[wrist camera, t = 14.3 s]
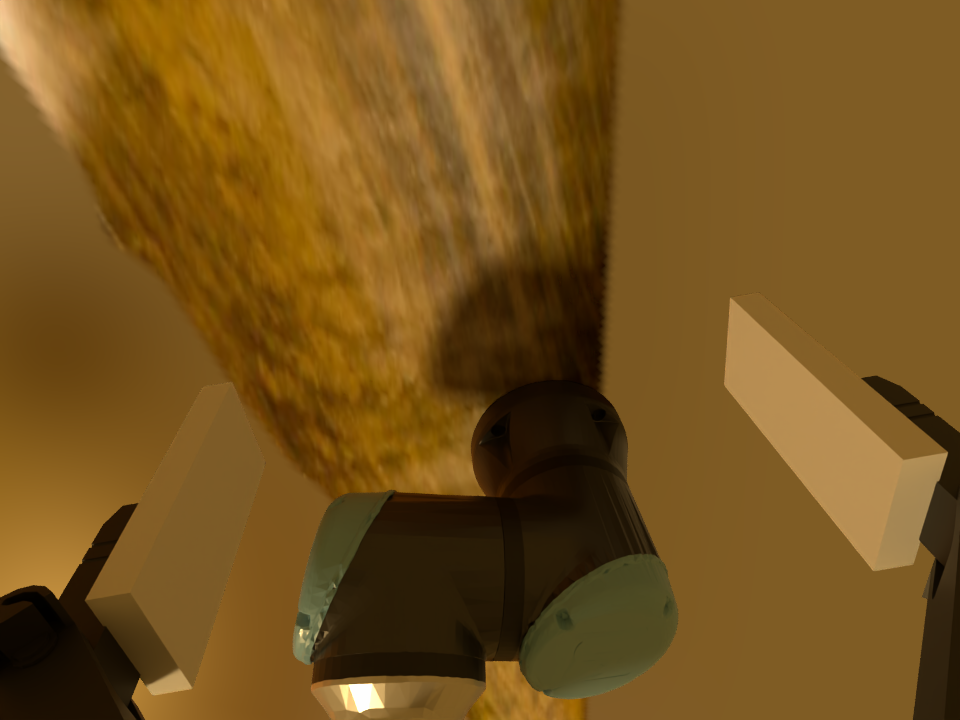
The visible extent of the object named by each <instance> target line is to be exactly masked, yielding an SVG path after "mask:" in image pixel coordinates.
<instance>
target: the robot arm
mask: <svg viewBox="0 0 960 720" xmlns="http://www.w3.org/2000/svg"><path fill="white" fill-rule="evenodd" d="M724 385H725V387H726V388H727V389H728V391H729V392H730V393H731V394H732V396H733V397H734V398H735V399H736V400H737V402H738V403H739V404H740V405H741V407H742V408H743V409H744V410H745V412H746V413H747V414H748V415H749V417H750V418H751V419H752V420H753V422H754V423H755V424H756V425H757V427H758V428H759V429H760V430H761V432H762V433H763V434H764V435H765V437H766V438H767V439H768V440H769V441H770V443H771V444H772V445H773V446H774V448H775V449H776V450H777V451H778V453H779V454H780V455H781V457H782V458H783V459H784V460H785V462H786V463H787V464H788V465H789V466H790V468H792V470H793V471H794V473H795V474H796V475H797V476H798V478H799V479H800V480H801V481H802V482H803V484H804V485H805V486H806V488H807V489H808V490H809V491H810V493H811V494H812V495H813V496H814V498H815V499H816V500H817V501H818V502H819V504H820V505H821V506H822V508H823V509H824V510H825V511H826V513H827V514H828V515H829V516H830V517H831V519H832V520H833V521H834V523H835V524H836V525H837V526H838V527H839V529H840V530H841V531H842V532H843V534H844V535H845V536H846V537H847V539H848V540H849V541H850V542H851V544H852V545H853V546H854V547H855V549H856V550H857V551H858V552H859V554H860V555H861V556H862V557H863V559H864V560H865V561H866V562H867V563H868V565H869V566H870V567H871V569H872V570H873V571H878V570H883V569H889V568H895V567H901V566H907V565H912V564H913V563H914V560H915V557H916V553H917V550H918V547H919V544H920V542H921V543H922V544H923V545H924V546H925V547H926V548H927V549H928V550H929V551H930V552H931V553H932V554H933V555H934V557H935V561H934V563H933V566H932V569H931V572H930V575H929V578H928V581H927V584H926V587H925V590H924V593H923V596H922V597H923V598H926V599H928V601H927V609H926V617H925V625H924V634H923V642H922V650H921V658H920V667H919V674H918V682H917V691H916V699H915V707H914V715H913V720H960V433H959V432H958V431H957V430H955V429H954V428H953V427H952V426H950V425H949V424H948V423H947V422H945V421H944V420H943V419H942V418H940V417H939V416H935V415H934V412H933V411H932V410H930V409H929V408H928V407H927V406H925V405H924V404H920V402H919V400H918V399H916V398H915V397H914V396H913V395H911V394H910V393H909V392H908V391H906V390H905V389H904V388H902V387H901V386H899V385H896V384H894V383H892V382H890V381H887V380H885V379H883V378H880V377H878V376H871V377H865V378H860V377H858V376H857V375H856V374H855V373H854V372H852V370H850V369H849V368H848V367H847V366H845V365H844V364H843V363H842V362H841V361H840V360H839V359H837V358H836V357H835V356H834V355H833V354H831V353H830V352H829V351H828V350H827V349H826V348H824V347H823V346H822V345H821V344H820V343H818V342H817V341H816V340H815V339H814V338H813V337H811V336H810V335H809V334H808V333H807V332H806V331H804V330H803V329H802V328H801V327H800V326H798V325H797V324H796V323H795V322H794V321H793V320H791V319H790V318H789V317H788V316H786V315H785V314H784V313H783V312H782V311H781V310H780V309H778V308H777V307H776V306H775V305H774V304H772V303H771V302H770V301H769V300H768V299H767V298H765V297H764V296H763V295H762V294H761V293H759V292H757V293H751V294H746V295H740V296H734V297H730V308H729V322H728V337H727V350H726V365H725V378H724ZM627 453H628V443H627V437H626V432H625V429H624V426H623V424H622V422H621V420H620V418H619V416H618V414H617V412H616V410H615V409H614V407H613V405H612V404H611V403H610V402H609V401H608V400H607V399H606V398H605V397H604V396H603V395H601V394H600V393H599V392H597V391H595V390H593V389H592V388H589V387H587V386H584V385H581V384H578V383H574V382H568V381H544V382H538V383H533V384H529V385H526V386H523V387H521V388H518V389H516V390H514V391H512V392H510V393H508V394H506V395H505V396H503V397H502V398H500V399H499V400H497V401H496V402H495V403H494V404H493V405H492V406H491V407H490V408H489V409H488V410H487V411H486V412H485V413H484V414H483V416H482V417H481V419H480V420H479V422H478V424H477V426H476V428H475V430H474V433H473V437H472V442H471V454H472V462H473V469H474V473H475V476H476V479H477V482H478V484H479V486H480V487H481V489H482V490H483V492H484V493H485V495H486V496H463V495H437V494H419V493H401V492H397V491H395V490H389V491H387V492H379V493H348V494H344V495H342V496H340V497H338V498H337V499H335V500H334V501H333V502H332V503H331V504H330V505H329V507H328V508H327V510H326V512H325V514H324V516H323V518H322V520H321V523H320V525H319V527H318V531H317V533H316V536H315V539H314V542H313V546H312V549H311V552H310V556H309V560H308V563H307V567H306V571H305V575H304V579H303V584H302V588H301V593H300V598H299V604H298V609H299V612H298V614H297V620H296V625H295V628H294V635H293V653H294V655H295V657H296V658H297V659H298V660H300V661H302V662H304V663H305V664H312V662H314V668H313V677H312V686H311V692H312V693H313V695H314V696H315V697H316V699H317V700H318V701H319V703H320V704H321V705H322V706H323V708H324V709H325V710H326V712H327V713H328V715H329V718H330V720H464V718H465V716H466V714H467V712H468V710H469V709H470V708H471V707H472V706H473V704H474V703H475V702H476V701H477V699H478V698H479V697H480V696H481V694H482V693H483V692H484V691H485V689H486V674H485V662H486V661H519V665H520V671H521V672H522V674H523V675H524V676H525V678H526V680H527V681H528V683H529V684H530V685H531V687H532V688H534V689H535V690H537V691H539V692H540V691H543V693H544V694H545V695H547V696H550V697H554V698H561V699H577V698H585V697H590V696H595V695H599V694H602V693H605V692H608V691H611V690H614V689H616V688H619V687H621V686H623V685H625V684H627V683H629V682H631V681H632V680H634V679H635V678H636V677H638V676H640V675H641V674H643V673H644V672H646V671H647V670H648V669H650V668H651V667H652V666H653V665H654V664H655V663H656V662H657V661H658V660H659V659H660V658H661V657H662V656H663V655H664V653H665V652H666V651H667V649H668V648H669V646H670V644H671V642H672V640H673V638H674V636H675V633H676V630H677V625H678V609H677V604H676V601H675V598H674V595H673V591H672V589H671V585H670V582H669V579H668V574H667V569H666V566H665V564H664V563H663V562H662V561H661V559H660V557H659V555H658V553H657V550H656V548H655V546H654V543H653V541H652V539H651V537H650V534H649V532H648V530H647V527H646V525H645V523H644V521H643V518H642V516H641V514H640V511H639V510H638V507H637V505H636V502H635V500H634V498H633V496H632V493H631V491H630V489H629V486H628V484H627ZM265 464H266V462H265V460H264V458H263V455H262V453H261V451H260V448H259V446H258V443H257V441H256V438H255V436H254V433H253V431H252V429H251V426H250V424H249V422H248V419H247V417H246V414H245V412H244V409H243V407H242V405H241V402H240V400H239V397H238V395H237V393H236V390H235V388H234V385H233V383H232V382H228V383H222V384H216V385H210V386H204V387H202V389H201V391H200V393H199V395H198V397H197V398H196V400H195V402H194V404H193V405H192V407H191V409H190V411H189V413H188V414H187V416H186V418H185V420H184V422H183V424H182V425H181V427H180V429H179V431H178V433H177V435H176V436H175V438H174V440H173V442H172V443H171V445H170V447H169V449H168V451H167V453H166V454H165V456H164V458H163V460H162V462H161V463H160V465H159V467H158V469H157V471H156V473H155V474H154V476H153V478H152V480H151V482H150V483H149V485H148V487H147V489H146V491H145V493H144V494H143V496H142V498H141V500H140V502H139V503H136V504H131V505H125V506H122V507H121V508H120V509H119V510H118V511H117V512H116V513H115V514H114V515H113V516H112V517H111V518H110V519H109V520H108V521H106V522H105V523H104V524H103V526H102V528H101V529H100V531H99V533H98V534H97V536H96V538H95V539H94V541H93V543H92V548H89V549H88V551H87V553H86V554H85V556H84V558H83V559H82V564H79V566H78V568H77V569H76V571H75V573H74V574H73V576H72V578H71V579H70V581H69V583H68V584H67V586H66V588H65V589H64V591H63V593H62V594H61V596H60V598H59V600H58V599H57V598H56V597H55V595H54V594H53V593H52V592H51V591H50V590H49V589H48V588H47V587H45V586H35V585H33V586H29V587H24V588H20V589H17V590H15V591H13V592H11V593H9V594H7V595H4V596H2V597H0V720H145V719H144V717H143V715H142V714H141V712H140V710H139V708H138V706H137V705H136V704H135V703H134V701H133V700H132V695H133V693H134V690H135V688H136V685H137V683H138V680H139V678H141V680H142V681H143V683H144V684H145V685H146V687H147V688H148V690H149V691H150V692H151V693H152V695H159V694H164V693H170V692H176V691H182V690H187V689H193V686H194V683H195V680H196V677H197V674H198V671H199V667H200V664H201V661H202V658H203V655H204V652H205V649H206V646H207V643H208V640H209V637H210V633H211V630H212V628H213V624H214V621H215V618H216V615H217V612H218V609H219V606H220V603H221V600H222V597H223V594H224V591H225V587H226V584H227V581H228V578H229V575H230V572H231V569H232V566H233V563H234V560H235V557H236V553H237V550H238V547H239V544H240V541H241V538H242V535H243V532H244V529H245V526H246V523H247V520H248V517H249V513H250V510H251V507H252V504H253V501H254V498H255V495H256V492H257V489H258V486H259V482H260V479H261V476H262V473H263V470H264V467H265Z"/></svg>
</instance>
